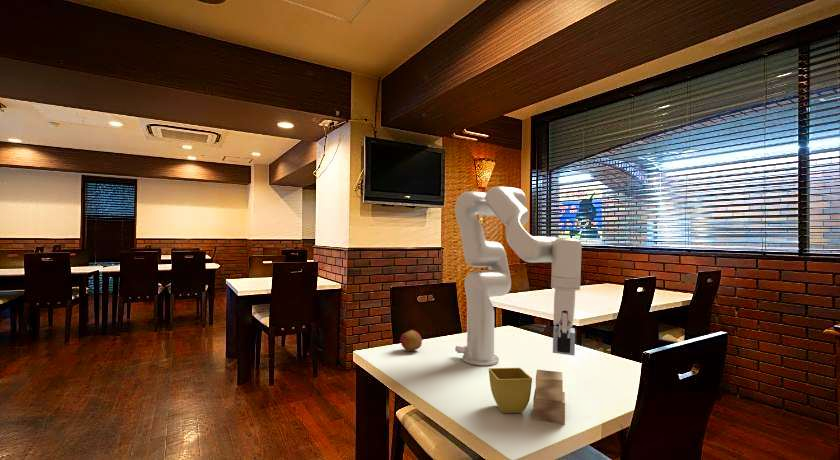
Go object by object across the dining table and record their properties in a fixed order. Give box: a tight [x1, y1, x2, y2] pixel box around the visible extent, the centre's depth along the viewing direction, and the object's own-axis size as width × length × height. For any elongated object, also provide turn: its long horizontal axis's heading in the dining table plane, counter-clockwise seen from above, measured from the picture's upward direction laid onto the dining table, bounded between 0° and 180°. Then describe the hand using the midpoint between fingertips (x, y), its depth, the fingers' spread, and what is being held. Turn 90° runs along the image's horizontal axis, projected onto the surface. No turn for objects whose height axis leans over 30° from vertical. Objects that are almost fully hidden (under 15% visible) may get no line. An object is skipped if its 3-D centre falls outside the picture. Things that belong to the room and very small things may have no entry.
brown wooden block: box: [532, 387, 566, 425], centre depth 94 cm, size 7×7×5 cm
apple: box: [399, 329, 423, 352], centre depth 148 cm, size 8×8×8 cm
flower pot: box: [488, 367, 533, 414], centre depth 98 cm, size 9×9×9 cm
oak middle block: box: [535, 369, 564, 402], centre depth 94 cm, size 6×6×5 cm
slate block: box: [552, 325, 576, 357], centre depth 107 cm, size 6×6×6 cm
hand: (563, 348), depth 107 cm, fingers closed on slate block, 5 cm apart
